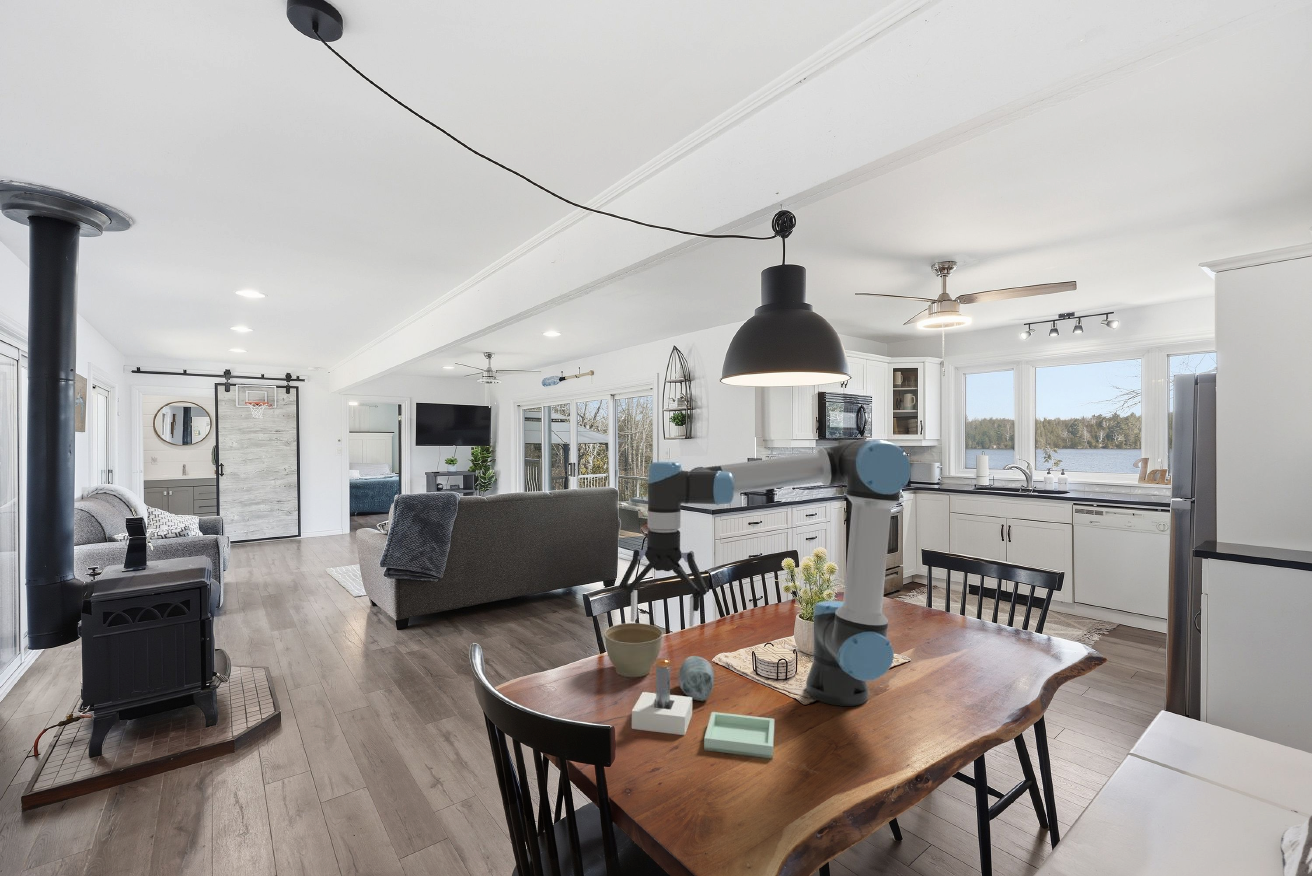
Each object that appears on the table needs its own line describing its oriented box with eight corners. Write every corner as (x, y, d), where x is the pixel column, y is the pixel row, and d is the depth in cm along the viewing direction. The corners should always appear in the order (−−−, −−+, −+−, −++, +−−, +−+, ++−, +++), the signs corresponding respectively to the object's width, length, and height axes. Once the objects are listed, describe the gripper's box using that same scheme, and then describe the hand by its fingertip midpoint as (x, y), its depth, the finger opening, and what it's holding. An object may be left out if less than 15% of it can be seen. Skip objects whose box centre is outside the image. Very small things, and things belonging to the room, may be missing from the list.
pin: (670, 718, 137) (671, 658, 137) (668, 725, 133) (668, 663, 133) (657, 717, 137) (657, 657, 137) (654, 723, 134) (654, 662, 134)
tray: (774, 730, 132) (774, 718, 132) (772, 758, 120) (772, 746, 120) (711, 722, 135) (711, 711, 135) (704, 750, 123) (704, 738, 123)
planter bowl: (593, 677, 159) (593, 637, 159) (619, 657, 174) (619, 620, 174) (648, 687, 153) (649, 646, 153) (670, 665, 168) (671, 627, 168)
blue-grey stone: (722, 693, 143) (703, 653, 146) (686, 710, 143) (668, 670, 146) (722, 684, 156) (705, 647, 159) (690, 700, 156) (673, 663, 159)
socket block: (692, 714, 139) (692, 697, 139) (684, 735, 129) (684, 717, 129) (642, 708, 142) (642, 691, 142) (631, 728, 132) (631, 710, 132)
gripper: (720, 529, 136) (719, 621, 136) (616, 524, 142) (615, 613, 142) (716, 535, 129) (714, 632, 129) (606, 529, 134) (605, 622, 134)
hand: (662, 622), depth 135 cm, fingers open, 13 cm apart
